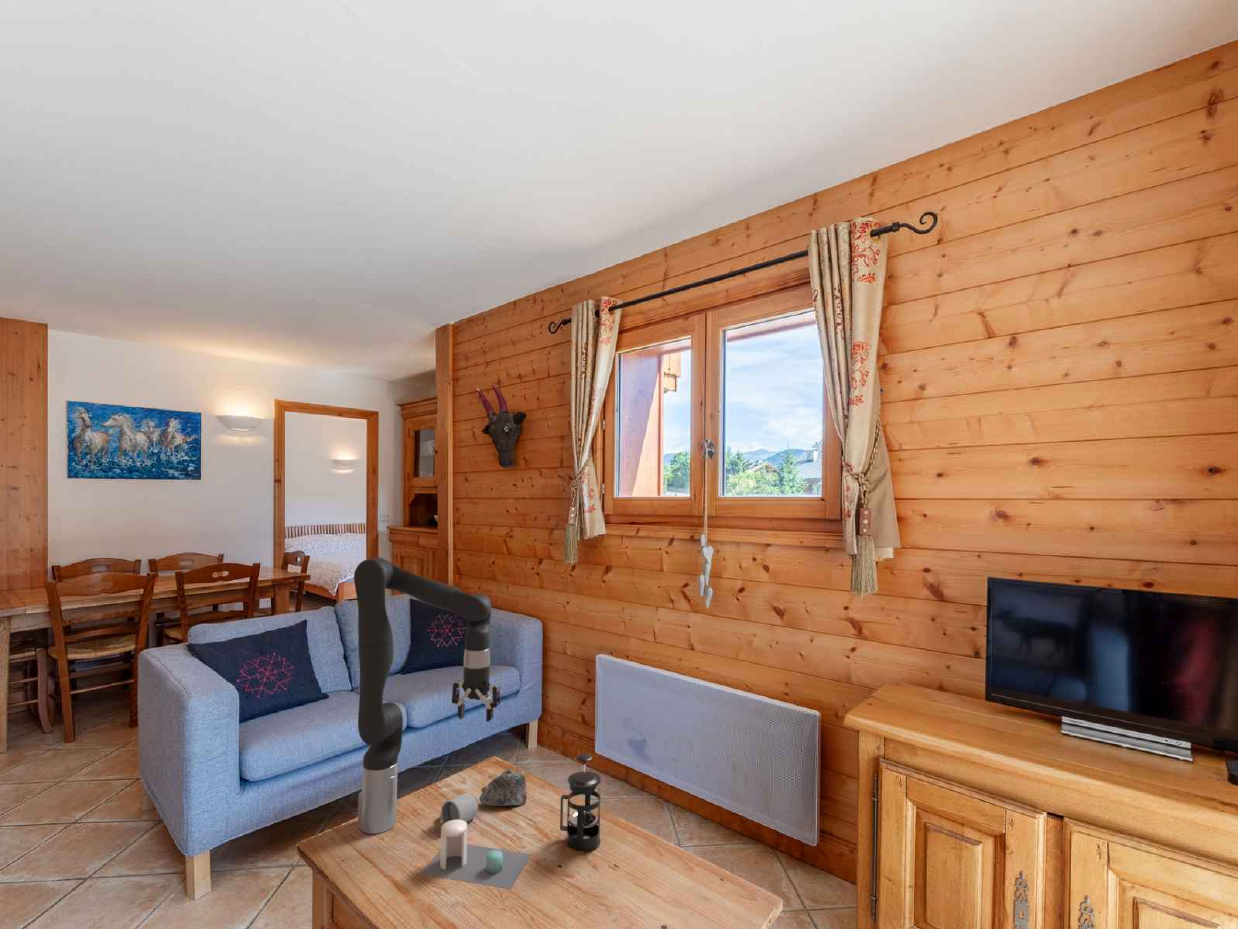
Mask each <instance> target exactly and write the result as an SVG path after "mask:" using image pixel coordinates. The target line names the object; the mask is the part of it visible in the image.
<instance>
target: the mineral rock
mask: <svg viewBox="0 0 1238 929" xmlns="http://www.w3.org/2000/svg"><path fill="white" fill-rule="evenodd" d="M526 781H527V780H526V773H525V771H523V770H521V771H516V770H514V769H513V768H510V769H507V770H506V771H503V773H501V774H500V775H499V776H497V777H495V778H493V779H492V780H491V781H490V782H489V783H488V784H487V785H484V786H483V787H482V788H481V794H480V796H479V797H478V800H479V802H480V803H481V804H484V805H487V806H493V807H501V806H504V807H507V806H521V805H525V804H526V802H527V798H528V797H527V782H526Z"/></svg>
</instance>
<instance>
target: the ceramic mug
mask: <svg viewBox="0 0 1238 929" xmlns="http://www.w3.org/2000/svg"><path fill="white" fill-rule="evenodd" d="M478 811H479V803H478V799H477V798H476V796H475V795H474V794H473V793H471V792H465V793H461V794H459V795H457V796H455V797H452V798H451V799H448V800H446V801H445V802H443V804H442V806H441V811H440V819H441V821H442V822H443V824H444V823H446V822H448V821H451V820H463V821H465V822H466V823H467V824H468V822H470V821H471V820H473V819H474V818H476V816H477V814H478Z"/></svg>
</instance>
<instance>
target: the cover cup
mask: <svg viewBox="0 0 1238 929" xmlns="http://www.w3.org/2000/svg"><path fill="white" fill-rule="evenodd" d="M440 828H441V829H440V850H441V852H440V867H441V868H442V869H444V870H445V869H446V859H447V858H449V857H452V856H460V857H462V866H464V865H465V864H466V862H467V844H468V822H467V823H466V822H465V821H463V820H451V821H448V822H446V823H443V824H442V826H441V827H440Z"/></svg>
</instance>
